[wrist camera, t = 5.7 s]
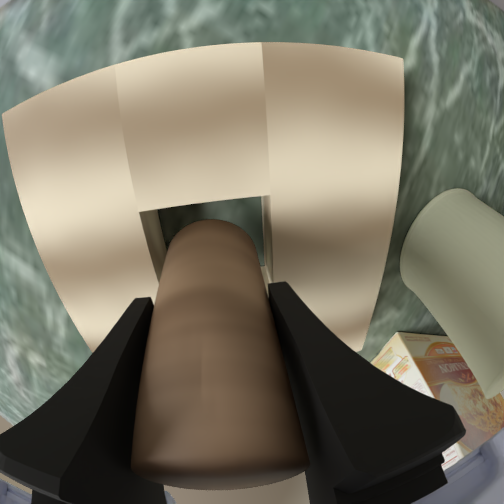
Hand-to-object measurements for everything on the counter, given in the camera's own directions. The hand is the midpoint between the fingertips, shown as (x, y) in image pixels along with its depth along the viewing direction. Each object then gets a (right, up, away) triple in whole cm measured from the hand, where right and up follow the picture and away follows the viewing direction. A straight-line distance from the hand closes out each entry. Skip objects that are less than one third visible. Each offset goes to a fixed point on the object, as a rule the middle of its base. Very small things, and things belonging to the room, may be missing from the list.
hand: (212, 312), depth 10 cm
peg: (0, +2, +3) cm, 3 cm away
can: (+16, +3, +8) cm, 19 cm away
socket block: (-1, +3, +5) cm, 6 cm away
